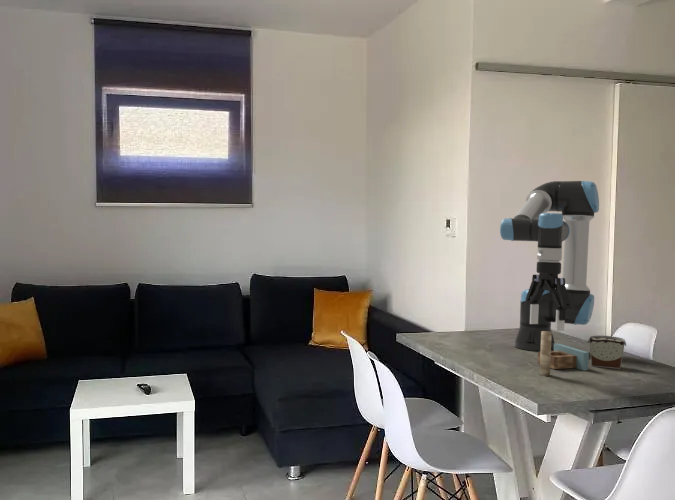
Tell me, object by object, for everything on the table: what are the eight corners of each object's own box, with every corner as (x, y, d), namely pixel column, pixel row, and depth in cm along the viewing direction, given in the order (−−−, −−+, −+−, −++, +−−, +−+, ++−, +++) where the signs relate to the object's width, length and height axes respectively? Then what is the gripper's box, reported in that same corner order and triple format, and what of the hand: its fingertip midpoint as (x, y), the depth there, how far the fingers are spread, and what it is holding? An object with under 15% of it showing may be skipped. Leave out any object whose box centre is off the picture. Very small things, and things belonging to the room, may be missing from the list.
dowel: (545, 373, 223) (547, 330, 222) (552, 375, 220) (553, 332, 219) (537, 373, 222) (539, 331, 221) (543, 376, 219) (545, 332, 218)
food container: (624, 365, 238) (625, 336, 237) (625, 369, 232) (626, 339, 231) (586, 362, 242) (587, 334, 241) (586, 365, 236) (587, 337, 235)
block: (559, 361, 240) (559, 350, 240) (576, 367, 232) (576, 355, 231) (537, 363, 237) (538, 351, 237) (553, 369, 229) (554, 357, 228)
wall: (558, 360, 244) (558, 343, 244) (588, 370, 229) (588, 352, 229) (553, 360, 243) (553, 343, 243) (583, 370, 228) (583, 352, 228)
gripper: (516, 258, 230) (514, 321, 230) (564, 263, 206) (561, 333, 207) (535, 258, 232) (533, 321, 233) (584, 264, 208) (581, 333, 209)
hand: (546, 327), depth 220 cm, fingers open, 13 cm apart
